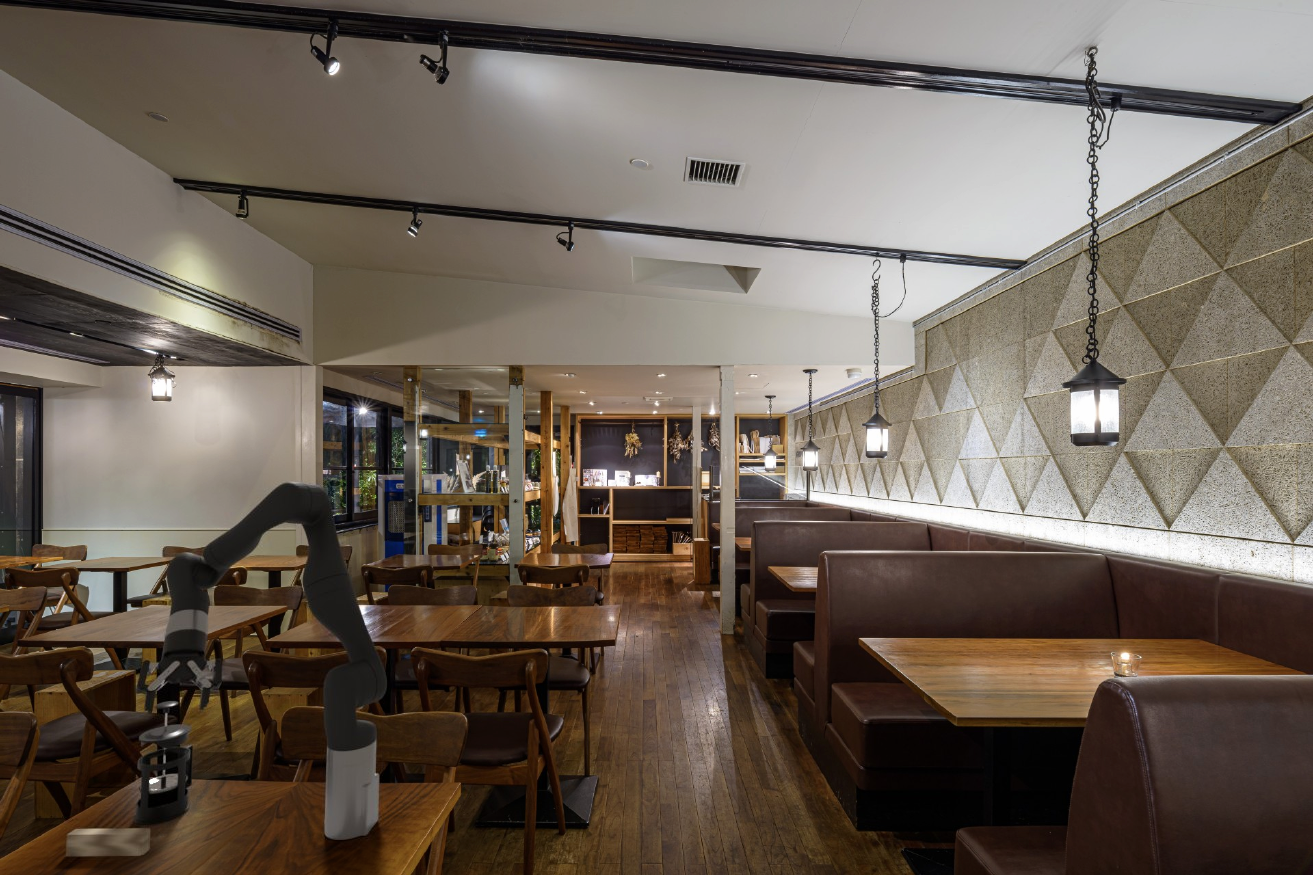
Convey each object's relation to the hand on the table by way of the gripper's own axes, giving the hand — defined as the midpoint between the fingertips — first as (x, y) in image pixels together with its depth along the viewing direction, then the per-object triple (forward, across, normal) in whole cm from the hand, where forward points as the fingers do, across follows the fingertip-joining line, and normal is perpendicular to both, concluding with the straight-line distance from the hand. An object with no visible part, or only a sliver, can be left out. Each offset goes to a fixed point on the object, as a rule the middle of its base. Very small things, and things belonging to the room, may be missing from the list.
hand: (176, 710), depth 133 cm
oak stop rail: (+19, -6, +17) cm, 27 cm away
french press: (+11, +2, +26) cm, 28 cm away
